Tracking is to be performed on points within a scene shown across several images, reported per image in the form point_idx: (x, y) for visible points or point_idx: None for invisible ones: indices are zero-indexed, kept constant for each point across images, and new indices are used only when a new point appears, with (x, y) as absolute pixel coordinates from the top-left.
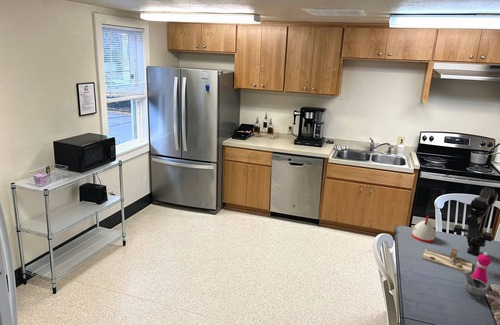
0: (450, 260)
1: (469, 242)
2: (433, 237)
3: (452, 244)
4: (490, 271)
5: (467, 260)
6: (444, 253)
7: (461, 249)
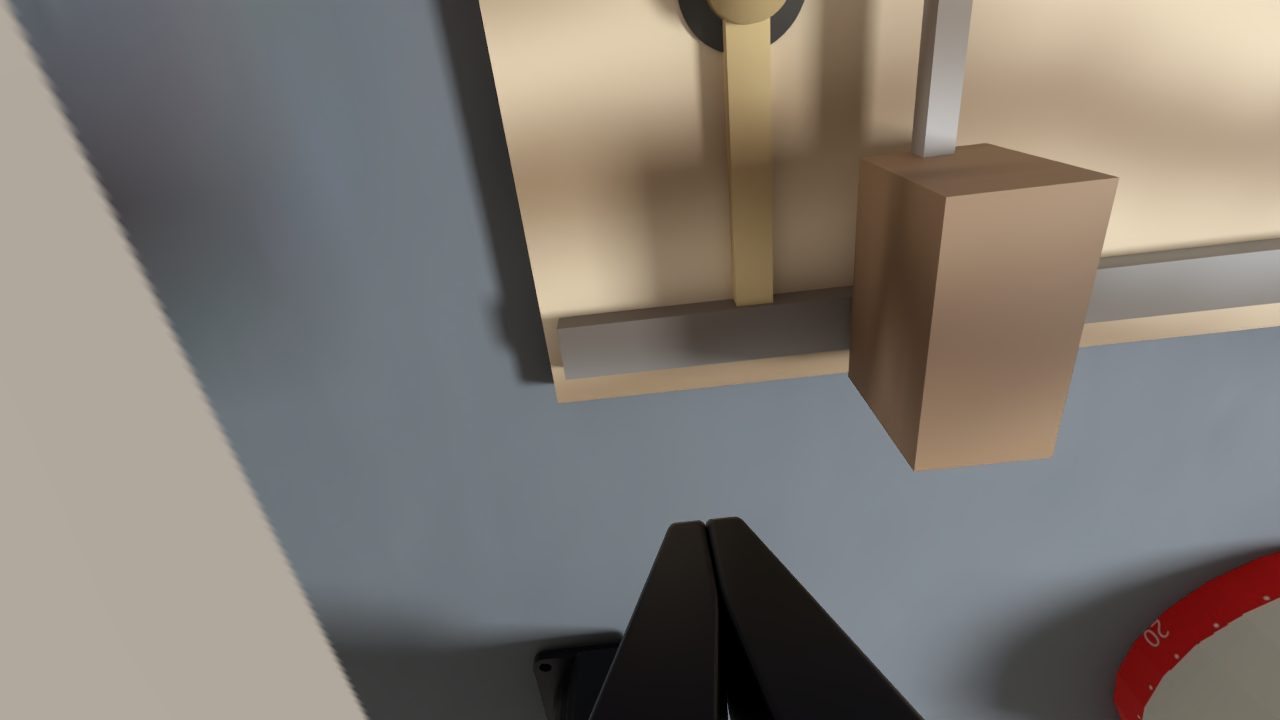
0: None
1: (793, 706)
2: (1216, 695)
3: None
4: (251, 332)
5: (636, 350)
6: None
7: None
